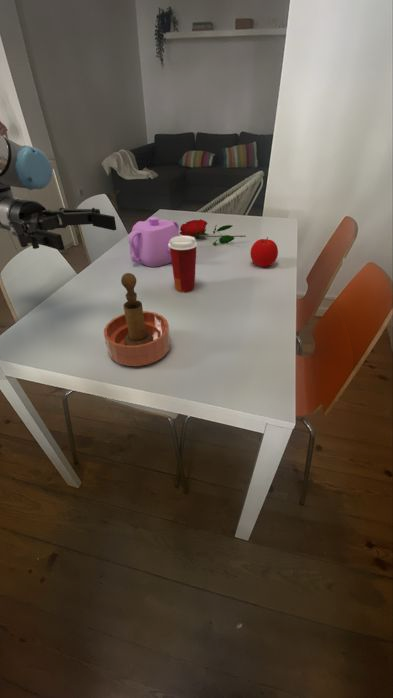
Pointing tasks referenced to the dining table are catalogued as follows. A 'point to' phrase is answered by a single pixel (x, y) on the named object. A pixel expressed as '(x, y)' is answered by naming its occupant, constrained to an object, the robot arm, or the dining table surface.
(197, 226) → the flower
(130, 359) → the bowl
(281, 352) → the dining table surface
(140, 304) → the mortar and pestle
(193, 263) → the coffee cup
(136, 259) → the teapot
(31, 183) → the robot arm
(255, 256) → the fruit
